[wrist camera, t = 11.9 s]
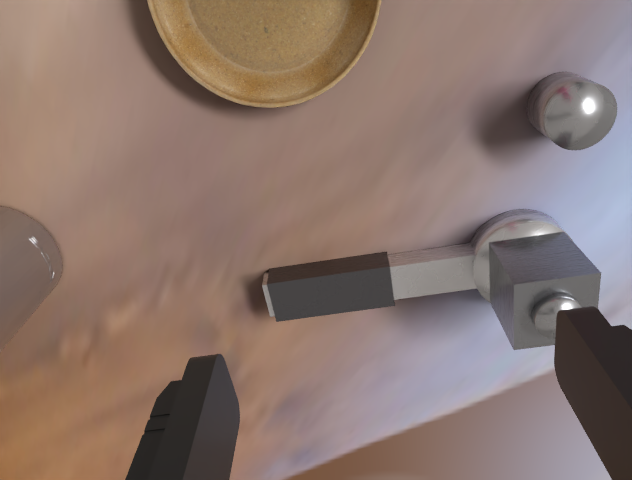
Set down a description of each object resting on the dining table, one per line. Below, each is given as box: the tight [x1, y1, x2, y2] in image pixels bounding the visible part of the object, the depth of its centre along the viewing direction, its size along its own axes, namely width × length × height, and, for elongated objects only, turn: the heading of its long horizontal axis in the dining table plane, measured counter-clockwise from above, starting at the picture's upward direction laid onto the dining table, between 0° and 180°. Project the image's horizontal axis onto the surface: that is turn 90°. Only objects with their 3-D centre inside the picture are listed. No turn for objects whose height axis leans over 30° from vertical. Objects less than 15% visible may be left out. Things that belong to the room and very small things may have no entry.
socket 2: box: [489, 232, 601, 350], centre depth 38 cm, size 6×6×7 cm
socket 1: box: [527, 72, 617, 150], centre depth 36 cm, size 4×4×4 cm
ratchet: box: [262, 209, 572, 322], centre depth 41 cm, size 25×8×6 cm, turn 100°
